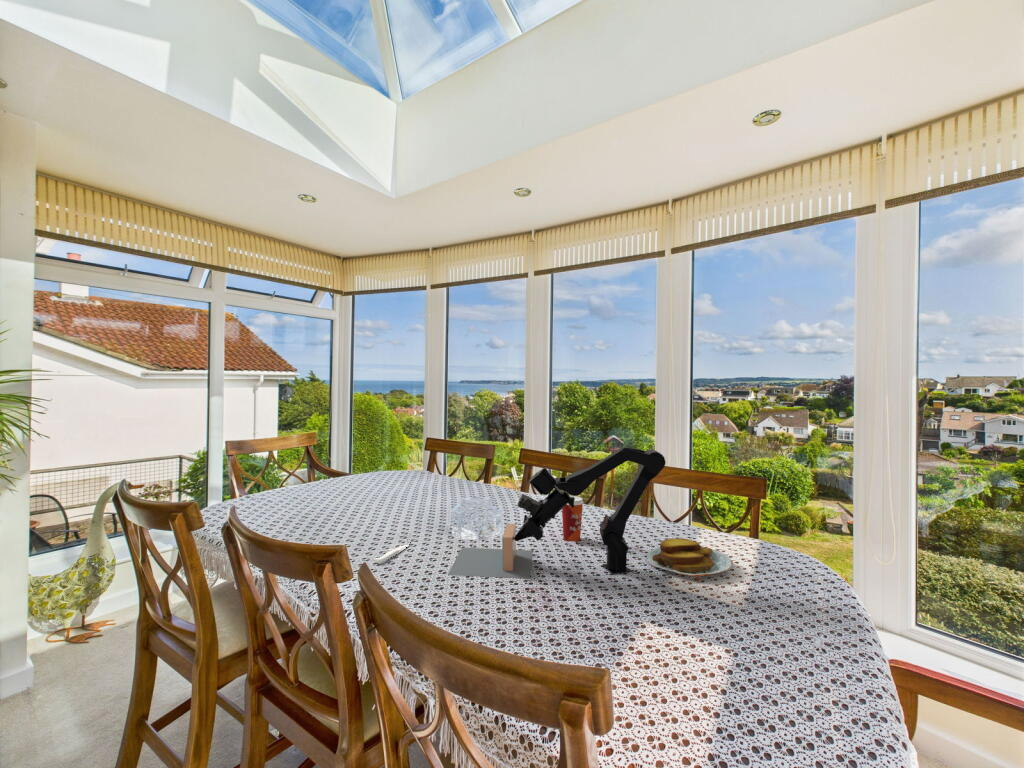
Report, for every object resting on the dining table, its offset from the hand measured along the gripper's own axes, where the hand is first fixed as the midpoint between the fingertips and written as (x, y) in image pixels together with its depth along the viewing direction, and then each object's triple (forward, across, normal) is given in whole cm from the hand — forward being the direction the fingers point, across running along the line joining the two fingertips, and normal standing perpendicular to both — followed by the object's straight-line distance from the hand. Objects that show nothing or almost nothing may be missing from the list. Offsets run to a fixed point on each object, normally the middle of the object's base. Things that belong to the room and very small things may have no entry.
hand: (515, 539), depth 141 cm
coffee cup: (-8, -25, +19) cm, 33 cm away
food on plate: (-33, -6, +44) cm, 55 cm away
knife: (+35, -11, -23) cm, 43 cm away
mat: (+10, 0, +1) cm, 10 cm away
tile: (+6, 0, +4) cm, 7 cm away
